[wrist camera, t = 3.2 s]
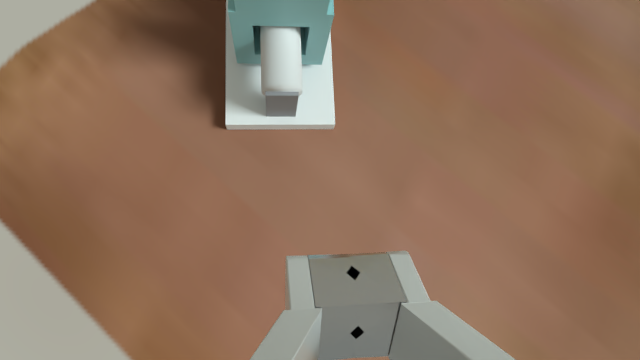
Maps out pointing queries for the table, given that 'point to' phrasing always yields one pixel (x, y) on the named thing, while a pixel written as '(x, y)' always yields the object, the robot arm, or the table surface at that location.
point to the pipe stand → (278, 84)
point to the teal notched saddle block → (280, 10)
